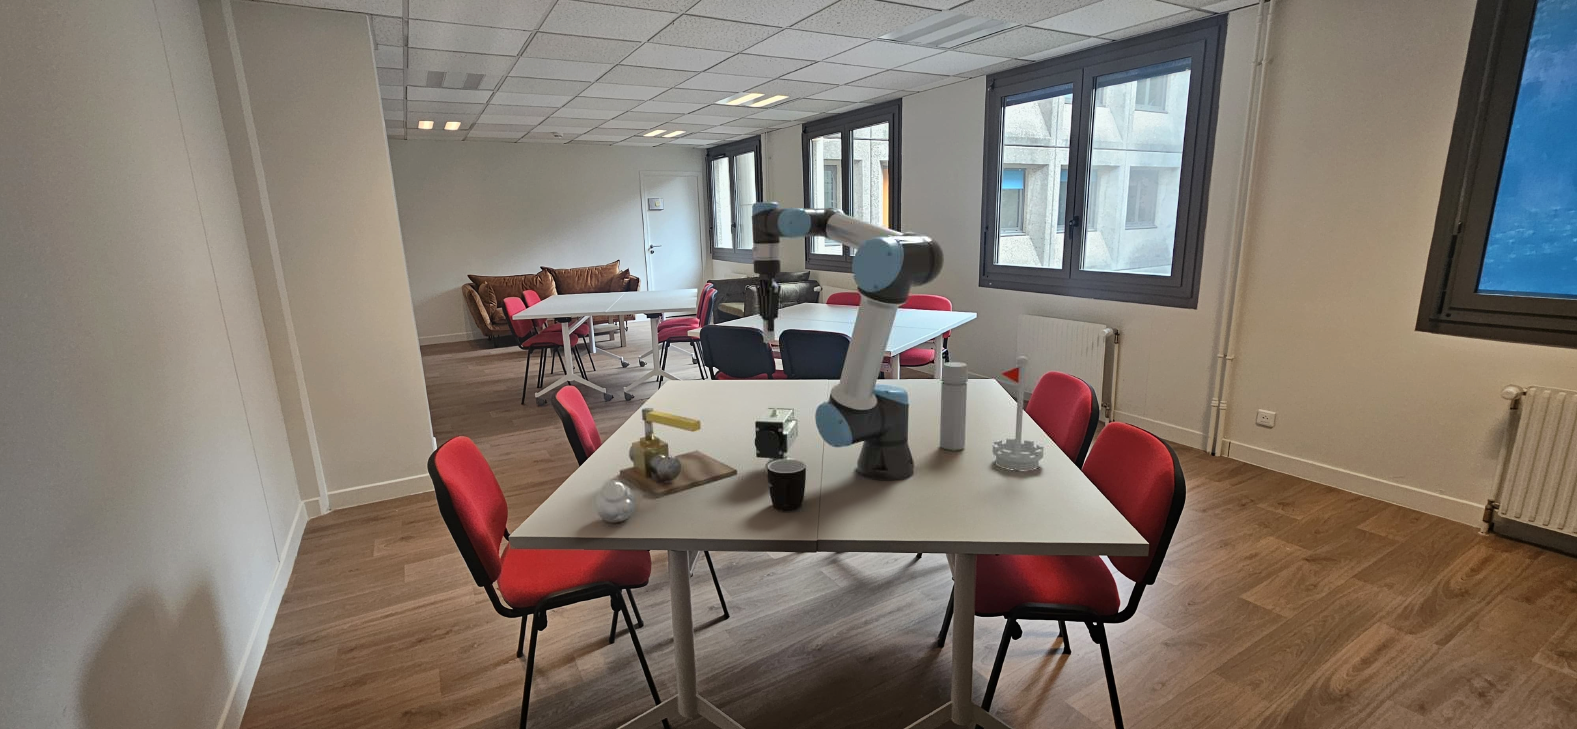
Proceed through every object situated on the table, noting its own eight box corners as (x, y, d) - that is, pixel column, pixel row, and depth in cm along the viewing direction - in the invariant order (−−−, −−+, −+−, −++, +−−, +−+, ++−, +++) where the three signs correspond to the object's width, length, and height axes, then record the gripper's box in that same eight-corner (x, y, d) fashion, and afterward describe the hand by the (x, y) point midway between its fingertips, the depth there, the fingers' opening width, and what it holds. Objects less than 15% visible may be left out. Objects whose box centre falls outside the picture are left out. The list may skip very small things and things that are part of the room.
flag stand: (1044, 459, 184) (1050, 353, 178) (1040, 475, 172) (1047, 362, 166) (995, 453, 189) (1000, 350, 183) (988, 469, 177) (993, 359, 171)
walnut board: (656, 497, 163) (655, 493, 163) (620, 474, 179) (619, 470, 179) (737, 474, 178) (736, 469, 177) (697, 454, 194) (696, 450, 193)
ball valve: (787, 486, 168) (785, 419, 165) (754, 484, 170) (752, 418, 167) (801, 462, 186) (799, 400, 182) (771, 460, 187) (769, 399, 184)
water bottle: (967, 452, 191) (970, 367, 186) (939, 451, 192) (941, 366, 187) (964, 441, 200) (966, 360, 195) (937, 441, 201) (939, 360, 196)
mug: (771, 498, 161) (770, 458, 159) (808, 499, 160) (807, 459, 158) (763, 519, 150) (762, 477, 148) (803, 520, 149) (802, 478, 147)
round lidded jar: (589, 529, 146) (585, 487, 144) (606, 511, 156) (602, 471, 154) (628, 531, 145) (624, 488, 143) (643, 513, 154) (640, 472, 152)
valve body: (658, 486, 167) (655, 432, 164) (628, 468, 180) (625, 418, 177) (682, 479, 171) (679, 427, 168) (652, 462, 184) (649, 413, 182)
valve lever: (640, 419, 174) (639, 409, 173) (648, 416, 176) (648, 407, 176) (692, 432, 162) (692, 421, 162) (701, 428, 165) (700, 418, 164)
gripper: (745, 258, 189) (748, 340, 194) (763, 260, 177) (766, 347, 182) (769, 257, 192) (771, 337, 197) (789, 259, 181) (791, 344, 185)
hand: (769, 342), depth 190 cm, fingers closed
